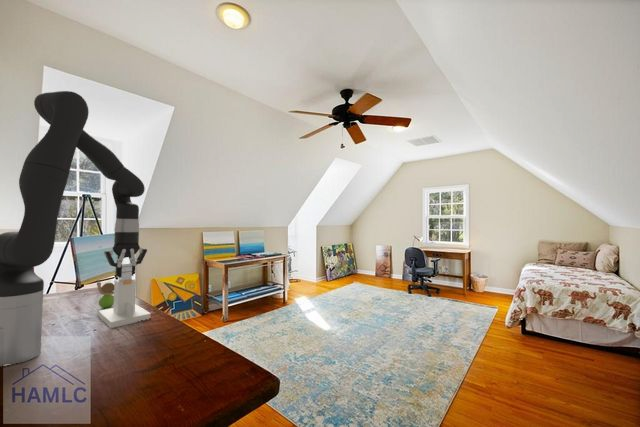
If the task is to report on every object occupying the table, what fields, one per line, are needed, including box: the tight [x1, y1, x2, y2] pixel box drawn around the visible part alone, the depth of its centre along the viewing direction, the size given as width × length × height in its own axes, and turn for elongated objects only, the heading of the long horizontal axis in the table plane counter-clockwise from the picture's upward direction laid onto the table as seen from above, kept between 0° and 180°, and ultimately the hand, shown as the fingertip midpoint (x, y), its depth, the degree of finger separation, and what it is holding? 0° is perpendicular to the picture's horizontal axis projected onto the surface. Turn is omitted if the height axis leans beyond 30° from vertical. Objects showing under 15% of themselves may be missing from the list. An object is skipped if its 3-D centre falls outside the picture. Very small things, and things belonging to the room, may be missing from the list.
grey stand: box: [97, 277, 152, 329], centre depth 102 cm, size 18×12×14 cm, turn 50°
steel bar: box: [118, 262, 133, 281], centre depth 102 cm, size 3×3×17 cm
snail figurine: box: [96, 279, 114, 309], centre depth 112 cm, size 5×6×12 cm
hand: (125, 276), depth 102 cm, fingers closed on steel bar, 3 cm apart
